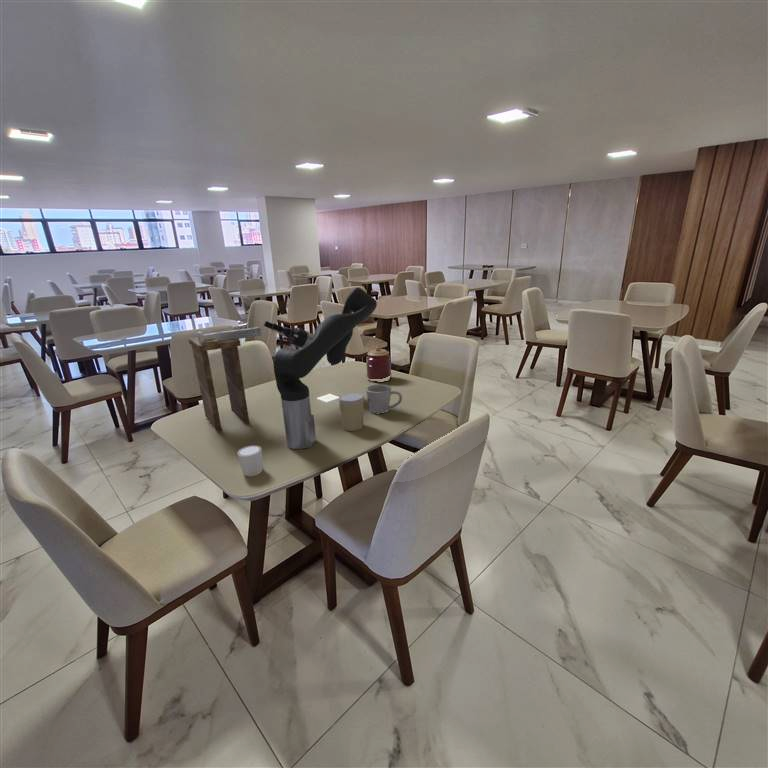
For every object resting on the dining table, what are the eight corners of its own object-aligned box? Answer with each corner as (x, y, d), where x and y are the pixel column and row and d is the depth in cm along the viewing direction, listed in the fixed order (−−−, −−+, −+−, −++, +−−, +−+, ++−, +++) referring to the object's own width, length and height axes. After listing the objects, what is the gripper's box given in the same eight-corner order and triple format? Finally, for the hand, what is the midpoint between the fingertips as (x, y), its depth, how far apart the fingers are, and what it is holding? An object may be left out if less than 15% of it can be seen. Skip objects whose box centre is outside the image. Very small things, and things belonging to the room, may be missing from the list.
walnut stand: (238, 408, 165) (225, 331, 154) (252, 422, 149) (239, 337, 139) (203, 416, 157) (187, 335, 146) (215, 432, 141) (198, 343, 131)
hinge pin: (258, 334, 150) (257, 324, 148) (261, 335, 146) (260, 325, 145) (198, 342, 137) (196, 331, 136) (201, 344, 134) (199, 333, 133)
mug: (370, 405, 162) (369, 383, 159) (404, 407, 159) (404, 384, 156) (364, 415, 152) (362, 391, 149) (400, 417, 149) (400, 393, 146)
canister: (396, 378, 198) (395, 345, 193) (379, 384, 190) (378, 350, 184) (379, 374, 207) (377, 342, 202) (361, 379, 198) (359, 347, 193)
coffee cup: (351, 419, 148) (349, 391, 144) (370, 424, 143) (368, 395, 139) (335, 428, 141) (332, 398, 137) (354, 434, 136) (352, 403, 132)
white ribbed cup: (248, 480, 109) (244, 458, 107) (236, 472, 113) (232, 451, 111) (269, 470, 114) (266, 449, 112) (257, 463, 118) (253, 443, 116)
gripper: (307, 350, 154) (271, 335, 144) (293, 345, 165) (259, 331, 155) (314, 333, 154) (279, 317, 144) (299, 329, 165) (265, 314, 155)
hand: (268, 324), depth 149 cm, fingers open, 8 cm apart
